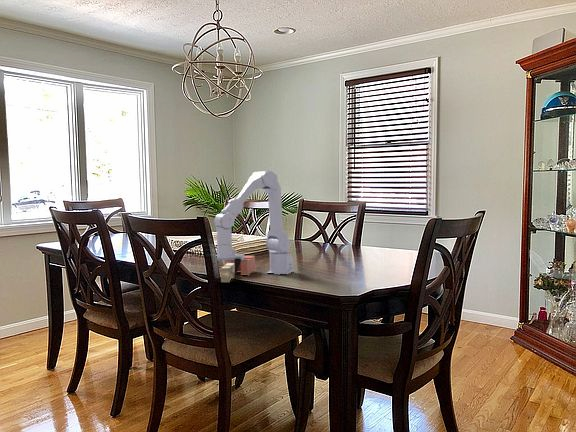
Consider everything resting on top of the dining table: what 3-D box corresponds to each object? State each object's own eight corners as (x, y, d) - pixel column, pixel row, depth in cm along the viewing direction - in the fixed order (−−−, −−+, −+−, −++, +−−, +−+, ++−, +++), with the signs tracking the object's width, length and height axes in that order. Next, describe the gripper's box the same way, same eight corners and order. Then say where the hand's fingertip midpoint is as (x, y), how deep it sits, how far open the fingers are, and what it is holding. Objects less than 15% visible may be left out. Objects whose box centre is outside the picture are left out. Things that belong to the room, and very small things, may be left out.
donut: (239, 268, 218) (239, 246, 217) (233, 269, 216) (233, 247, 215) (225, 266, 225) (225, 244, 224) (219, 267, 223) (219, 245, 222)
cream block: (227, 275, 203) (227, 262, 202) (235, 275, 202) (235, 262, 202) (221, 282, 191) (220, 268, 190) (229, 282, 190) (228, 268, 190)
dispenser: (233, 270, 214) (233, 255, 213) (255, 271, 211) (254, 255, 211) (225, 275, 204) (224, 259, 203) (247, 276, 201) (247, 259, 201)
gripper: (242, 242, 195) (243, 275, 196) (206, 243, 193) (207, 277, 194) (243, 244, 188) (244, 278, 189) (205, 245, 186) (206, 280, 187)
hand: (225, 278), depth 191 cm, fingers open, 7 cm apart
